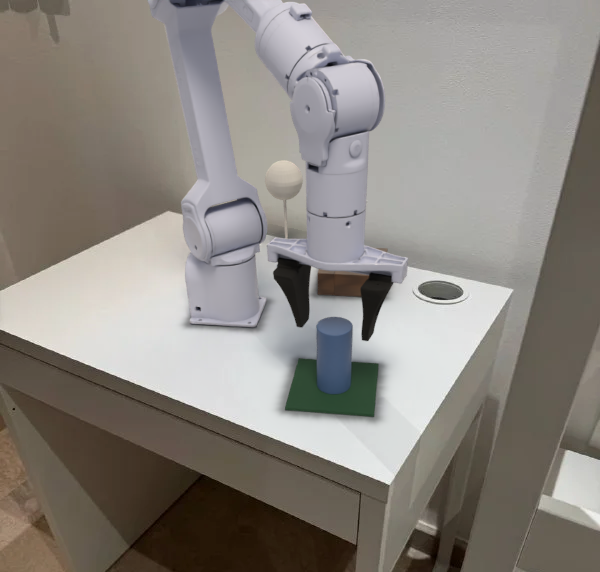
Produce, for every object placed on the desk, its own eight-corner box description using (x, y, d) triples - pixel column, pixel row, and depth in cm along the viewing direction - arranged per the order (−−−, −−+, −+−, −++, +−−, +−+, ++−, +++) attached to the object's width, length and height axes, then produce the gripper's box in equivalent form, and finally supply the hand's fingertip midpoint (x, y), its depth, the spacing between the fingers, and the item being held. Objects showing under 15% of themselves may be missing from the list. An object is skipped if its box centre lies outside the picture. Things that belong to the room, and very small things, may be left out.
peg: (311, 389, 69) (310, 331, 64) (324, 371, 72) (324, 313, 67) (343, 397, 67) (345, 338, 63) (355, 378, 70) (357, 320, 65)
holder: (317, 294, 88) (317, 273, 86) (325, 266, 96) (325, 245, 93) (383, 298, 87) (385, 276, 84) (386, 268, 94) (387, 248, 92)
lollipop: (311, 255, 99) (309, 162, 90) (280, 263, 97) (275, 169, 88) (293, 242, 103) (290, 153, 94) (263, 250, 101) (257, 159, 92)
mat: (285, 410, 67) (284, 407, 66) (298, 360, 74) (298, 358, 74) (374, 417, 65) (374, 414, 65) (378, 365, 73) (378, 363, 73)
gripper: (421, 202, 57) (408, 324, 65) (285, 186, 62) (289, 301, 70) (400, 229, 52) (390, 357, 60) (254, 209, 57) (263, 330, 65)
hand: (334, 329), depth 65 cm, fingers open, 7 cm apart
